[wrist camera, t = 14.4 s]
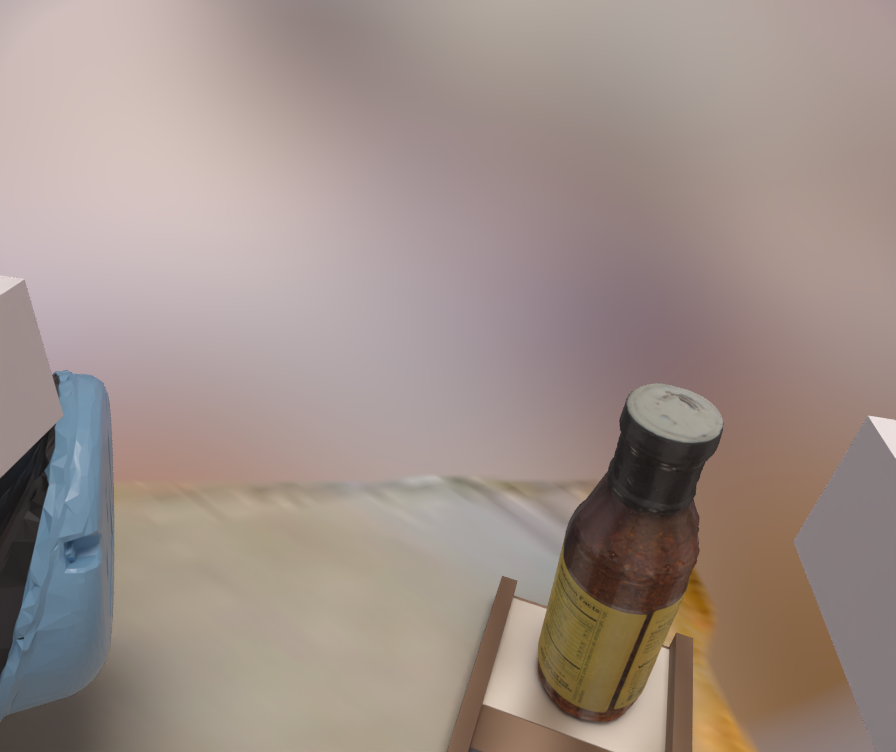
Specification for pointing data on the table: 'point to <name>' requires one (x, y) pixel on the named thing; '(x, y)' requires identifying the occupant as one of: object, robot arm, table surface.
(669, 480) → the sauce bottle
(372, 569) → the table surface
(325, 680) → the table surface
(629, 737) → the trap channel board
